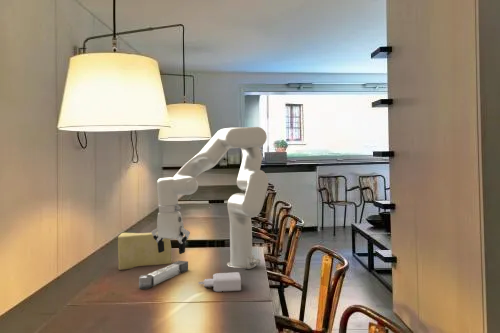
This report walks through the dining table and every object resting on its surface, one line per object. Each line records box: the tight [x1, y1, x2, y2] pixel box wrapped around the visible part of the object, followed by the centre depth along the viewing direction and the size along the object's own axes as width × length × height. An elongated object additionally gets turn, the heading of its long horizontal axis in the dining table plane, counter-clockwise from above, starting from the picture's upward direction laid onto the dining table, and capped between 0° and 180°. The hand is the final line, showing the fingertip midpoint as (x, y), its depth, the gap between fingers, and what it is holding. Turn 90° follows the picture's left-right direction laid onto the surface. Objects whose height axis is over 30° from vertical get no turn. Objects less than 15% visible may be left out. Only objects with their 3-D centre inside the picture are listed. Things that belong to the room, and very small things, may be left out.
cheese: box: [117, 232, 173, 271], centre depth 184 cm, size 22×10×15 cm, turn 96°
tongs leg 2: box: [151, 260, 189, 287], centre depth 163 cm, size 22×2×4 cm, turn 157°
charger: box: [198, 271, 242, 293], centre depth 152 cm, size 5×9×15 cm
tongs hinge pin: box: [138, 274, 152, 290], centre depth 151 cm, size 4×4×4 cm
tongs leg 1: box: [146, 260, 184, 275], centre depth 164 cm, size 22×2×4 cm, turn 156°
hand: (171, 252), depth 165 cm, fingers open, 9 cm apart
